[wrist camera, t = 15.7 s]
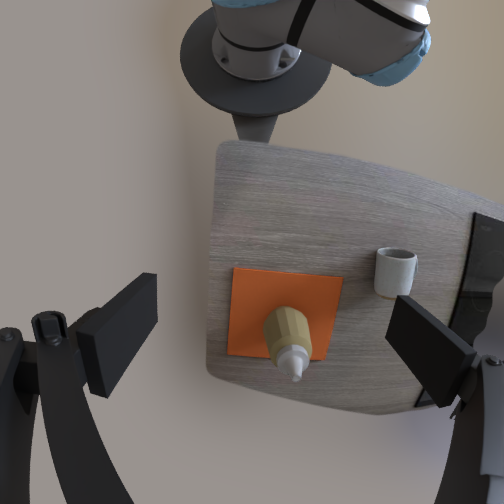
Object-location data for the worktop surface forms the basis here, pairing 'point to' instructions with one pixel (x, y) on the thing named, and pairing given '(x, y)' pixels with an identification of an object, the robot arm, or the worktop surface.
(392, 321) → the robot arm
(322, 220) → the worktop surface
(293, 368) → the squeeze bottle
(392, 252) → the ceramic mug
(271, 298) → the napkin
